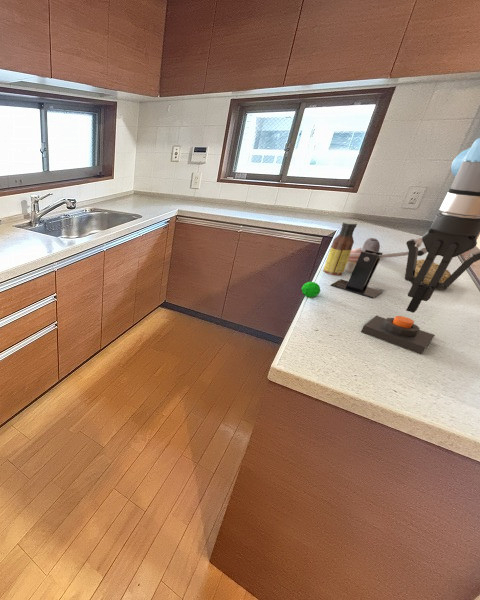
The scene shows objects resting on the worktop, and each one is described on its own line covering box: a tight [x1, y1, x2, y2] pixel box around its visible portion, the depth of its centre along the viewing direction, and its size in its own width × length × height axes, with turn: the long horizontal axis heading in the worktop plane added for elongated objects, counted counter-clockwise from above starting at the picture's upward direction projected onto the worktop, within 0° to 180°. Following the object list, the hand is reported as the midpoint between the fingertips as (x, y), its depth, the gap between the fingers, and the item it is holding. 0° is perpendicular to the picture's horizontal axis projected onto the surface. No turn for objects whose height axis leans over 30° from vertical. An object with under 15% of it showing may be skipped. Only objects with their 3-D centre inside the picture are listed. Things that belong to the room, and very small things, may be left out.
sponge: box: [414, 258, 452, 286], centre depth 119 cm, size 13×8×20 cm
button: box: [392, 315, 415, 328], centre depth 82 cm, size 4×4×2 cm
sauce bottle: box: [322, 221, 358, 277], centre depth 120 cm, size 7×6×20 cm
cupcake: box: [343, 247, 363, 274], centre depth 125 cm, size 9×9×10 cm
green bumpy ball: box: [301, 281, 321, 298], centre depth 105 cm, size 5×5×5 cm
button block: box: [360, 315, 435, 355], centre depth 84 cm, size 12×10×4 cm
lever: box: [372, 247, 428, 259], centre depth 101 cm, size 14×6×2 cm, turn 36°
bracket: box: [330, 249, 384, 299], centre depth 108 cm, size 12×9×14 cm
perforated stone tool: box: [362, 237, 381, 252], centre depth 145 cm, size 15×5×7 cm, turn 145°
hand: (411, 310), depth 81 cm, fingers closed
